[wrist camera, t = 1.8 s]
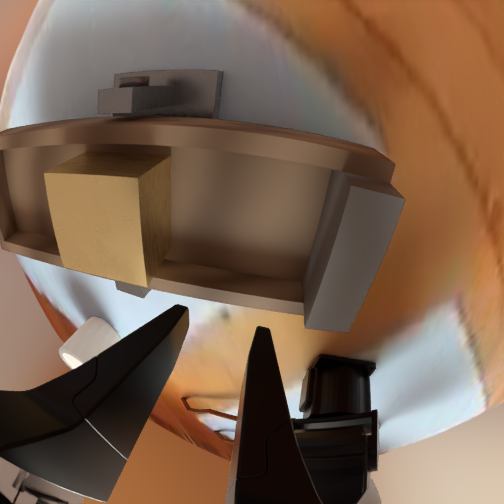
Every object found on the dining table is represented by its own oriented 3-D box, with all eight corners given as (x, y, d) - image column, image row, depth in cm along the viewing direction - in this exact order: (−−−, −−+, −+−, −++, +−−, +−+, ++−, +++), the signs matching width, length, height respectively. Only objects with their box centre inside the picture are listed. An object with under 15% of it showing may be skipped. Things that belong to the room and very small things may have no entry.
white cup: (80, 306, 32) (50, 341, 26) (119, 322, 31) (90, 363, 26) (92, 338, 36) (69, 371, 30) (129, 354, 35) (106, 392, 29)
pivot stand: (223, 71, 15) (184, 63, 10) (206, 273, 24) (179, 320, 19) (122, 74, 16) (67, 77, 11) (128, 252, 25) (92, 289, 20)
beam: (373, 148, 14) (412, 177, 10) (331, 284, 20) (341, 344, 15) (7, 128, 15) (-39, 149, 10) (24, 229, 20) (-12, 261, 15)
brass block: (171, 155, 14) (138, 178, 11) (171, 247, 17) (147, 287, 14) (85, 151, 14) (43, 173, 11) (95, 234, 18) (63, 266, 14)
